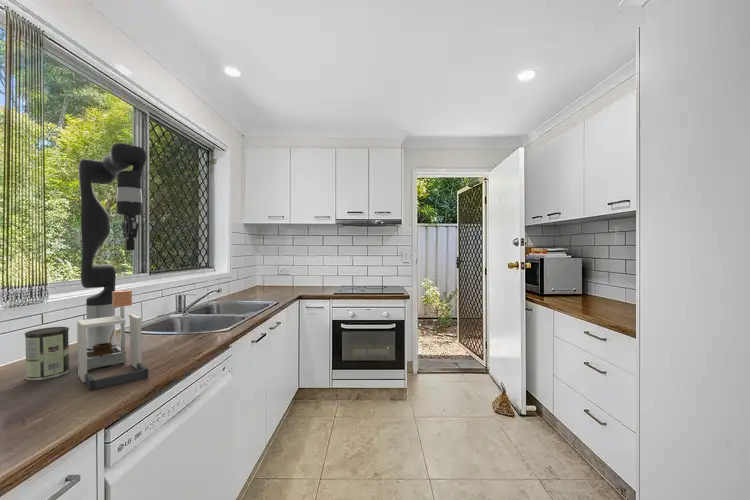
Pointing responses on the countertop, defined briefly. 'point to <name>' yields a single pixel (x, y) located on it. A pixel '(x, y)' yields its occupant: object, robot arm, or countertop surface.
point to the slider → (119, 354)
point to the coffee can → (47, 353)
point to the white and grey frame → (84, 324)
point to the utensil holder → (102, 348)
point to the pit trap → (116, 378)
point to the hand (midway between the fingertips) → (130, 250)
